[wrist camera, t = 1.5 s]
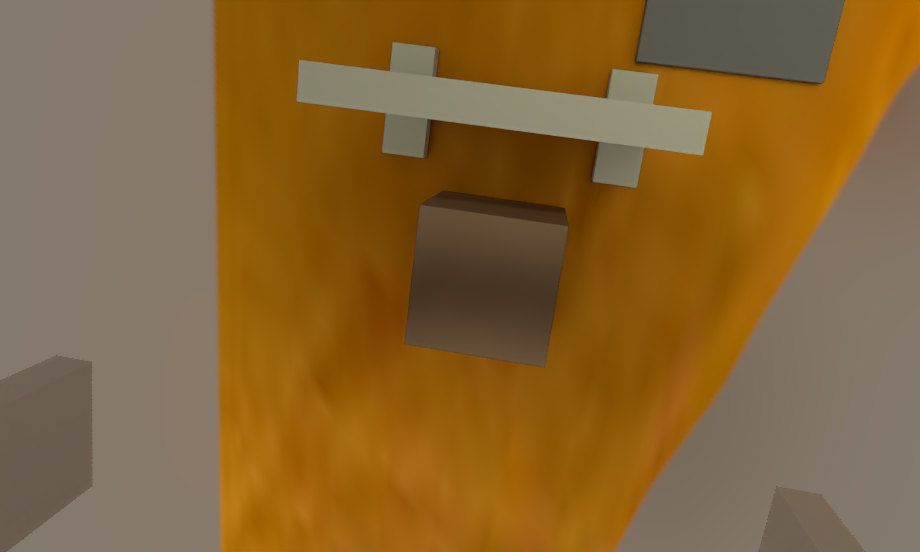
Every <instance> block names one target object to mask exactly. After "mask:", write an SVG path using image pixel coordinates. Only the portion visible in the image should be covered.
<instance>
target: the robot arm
mask: <svg viewBox="0 0 920 552" xmlns="http://www.w3.org/2000/svg"><path fill="white" fill-rule="evenodd" d="M90 487H92V362H89V361H83V360H78V359H73V358H67V357H62V356H54V357H52V358H50V359H48V360H45V361H43V362H41V363H39V364H36V365H34V366H32V367H29V368H27V369H25V370H23V371H20V372H18V373H16V374H14V375H11V376H9V377H7V378H5V379H2V380H0V552H7V551H8V550H9V549H11V548H12V547H13V546H15V545H16V544H17V543H19V542H20V541H21V540H23V539H24V538H25V537H26V536H28V535H29V534H30V533H32V532H33V531H34V530H35V529H37V528H38V527H39V526H41V525H42V524H43V523H44V522H46V521H47V520H49V519H50V518H51V517H53V516H54V515H55V514H56V513H58V512H59V511H60V510H61V509H63V508H64V507H66V506H67V505H68V504H69V503H71V502H72V501H73V500H75V499H76V498H77V497H78V496H80V495H81V494H82V493H84V492H85V491H86V490H88V489H89V488H90ZM759 552H865V551H864V549H863V548H862V547H861V545H860V544H859V543H858V542H857V540H856V539H855V538H854V536H853V535H852V534H851V532H850V531H849V530H848V529H847V527H846V526H845V525H844V524H843V522H842V521H841V519H839V517H838V516H837V514H836V513H835V512H834V510H833V509H832V508H831V506H830V505H829V504H828V503H827V502H826V500H825V499H824V497H823V496H822V495H821V494H816V493H810V492H804V491H799V490H794V489H788V488H782V487H776V490H775V494H774V497H773V501H772V505H771V509H770V512H769V515H768V519H767V523H766V526H765V530H764V534H763V537H762V541H761V545H760V548H759Z"/></svg>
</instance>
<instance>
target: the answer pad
mask: <svg viewBox="0 0 920 552" xmlns="http://www.w3.org/2000/svg"><path fill="white" fill-rule="evenodd" d="M844 2H845V0H646V5H645V10H644V15H643V21H642V26H641V32H640V37H639V42H638V48H637V53H636V59H635V62H637V63H646V64H654V65H662V66H671V67H679V68H687V69H696V70H704V71H712V72H721V73H729V74H737V75H746V76H754V77H762V78H771V79H779V80H787V81H796V82H804V83H812V84H822V83H824V80H825V76H826V72H827V68H828V65H829V61H830V57H831V53H832V49H833V45H834V41H835V37H836V33H837V29H838V25H839V22H840V18H841V14H842V10H843V6H844Z"/></svg>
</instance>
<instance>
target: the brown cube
mask: <svg viewBox="0 0 920 552" xmlns="http://www.w3.org/2000/svg"><path fill="white" fill-rule="evenodd" d="M568 228H569V225H568V220H567V216H566V211H565V208H561V207H554V206H547V205H540V204H533V203H526V202H519V201H512V200H505V199H498V198H491V197H484V196H477V195H470V194H463V193H456V192H449V191H442V192H440V193H439V194H437V195H435V196H434V197H432V198H430V199H429V200H427V201H425V202H424V203H422V204H420V209H419V218H418V227H417V236H416V245H415V254H414V263H413V272H412V281H411V290H410V299H409V307H408V316H407V325H406V334H405V343H404V344H407V345H413V346H419V347H425V348H431V349H437V350H443V351H449V352H455V353H461V354H467V355H472V356H478V357H484V358H490V359H496V360H502V361H508V362H514V363H520V364H526V365H532V366H538V367H544V368H545V363H546V357H547V351H548V346H549V340H550V334H551V328H552V322H553V316H554V310H555V304H556V299H557V293H558V287H559V281H560V275H561V269H562V263H563V257H564V252H565V246H566V240H567V234H568Z"/></svg>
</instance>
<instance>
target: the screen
mask: <svg viewBox="0 0 920 552" xmlns="http://www.w3.org/2000/svg"><path fill="white" fill-rule="evenodd" d="M438 56H439V50H438V49H437V48H436V47H428V46H420V45H412V44H404V43H395V42H393V45H392V55H391V66H390V71H384V70H376V69H368V68H360V67H352V66H344V65H336V64H328V63H320V62H312V61H304V60H299V73H298V88H297V102H305V103H312V104H320V105H327V106H335V107H343V108H350V109H358V110H365V111H373V112H380V113H386V117H385V128H384V138H383V148H382V153H390V154H397V155H404V156H411V157H418V158H426V157H427V153H428V144H429V135H430V126H431V119H433V120H440V121H448V122H455V123H463V124H470V125H478V126H485V127H493V128H500V129H508V130H515V131H523V132H530V133H538V134H545V135H553V136H560V137H568V138H576V139H583V140H591V141H598V145H597V151H596V156H595V162H594V168H593V173H592V179H591V180H592V182H598V183H605V184H612V185H619V186H626V187H633V188H637V183H638V178H639V173H640V168H641V163H642V158H643V152H644V148H651V149H658V150H666V151H673V152H681V153H688V154H696V155H703V152H704V148H705V143H706V138H707V134H708V129H709V124H710V120H711V115H712V112H708V111H701V110H693V109H685V108H677V107H669V106H661V105H653V101H654V96H655V91H656V86H657V81H658V75H659V74H651V73H642V72H634V71H626V70H618V69H612V70H611V72H610V77H609V83H608V89H607V94H606V99H605V98H598V97H590V96H582V95H574V94H566V93H558V92H550V91H542V90H534V89H526V88H518V87H510V86H502V85H495V84H487V83H479V82H471V81H463V80H455V79H447V78H439V77H436V74H437V65H438Z"/></svg>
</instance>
